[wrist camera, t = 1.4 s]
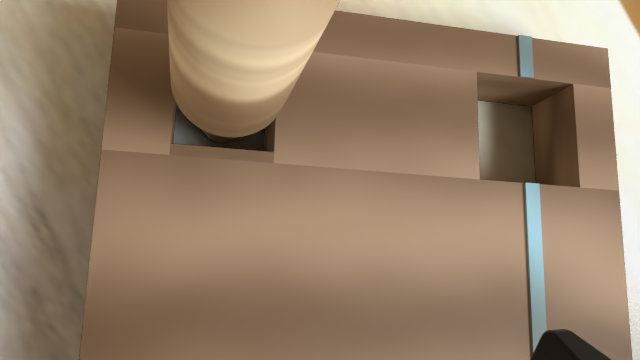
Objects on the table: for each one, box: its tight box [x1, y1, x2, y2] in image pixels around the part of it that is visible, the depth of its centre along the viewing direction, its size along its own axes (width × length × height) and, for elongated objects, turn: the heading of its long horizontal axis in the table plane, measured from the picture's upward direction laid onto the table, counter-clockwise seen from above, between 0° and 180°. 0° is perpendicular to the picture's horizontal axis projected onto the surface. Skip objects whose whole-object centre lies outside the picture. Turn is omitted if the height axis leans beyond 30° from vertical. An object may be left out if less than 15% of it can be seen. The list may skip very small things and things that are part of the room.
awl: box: [167, 0, 340, 142], centre depth 18 cm, size 4×4×12 cm
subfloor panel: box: [79, 0, 632, 360], centre depth 23 cm, size 18×20×3 cm
